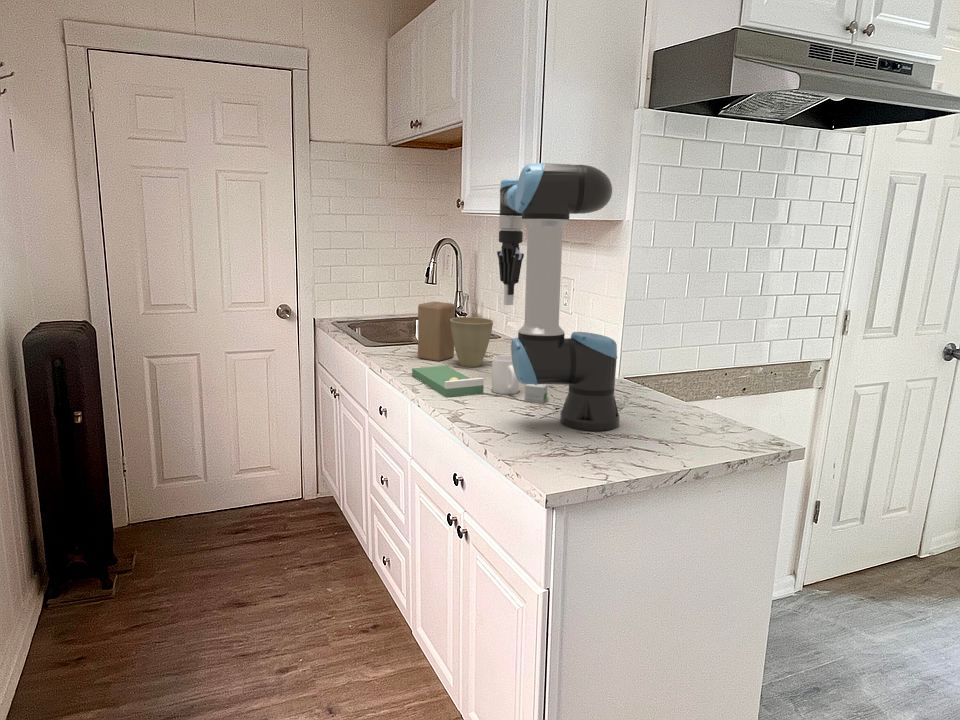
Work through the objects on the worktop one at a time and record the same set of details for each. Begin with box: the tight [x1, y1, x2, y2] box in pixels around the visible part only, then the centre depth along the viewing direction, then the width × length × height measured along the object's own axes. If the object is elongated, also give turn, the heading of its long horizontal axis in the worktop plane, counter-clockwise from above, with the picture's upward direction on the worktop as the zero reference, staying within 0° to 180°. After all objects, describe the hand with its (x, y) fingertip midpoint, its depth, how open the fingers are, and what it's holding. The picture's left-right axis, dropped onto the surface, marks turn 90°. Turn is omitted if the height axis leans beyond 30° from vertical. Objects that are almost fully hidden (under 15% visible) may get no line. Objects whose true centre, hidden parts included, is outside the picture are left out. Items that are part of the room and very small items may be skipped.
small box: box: [523, 384, 549, 404], centre depth 201 cm, size 6×6×5 cm
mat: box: [411, 365, 485, 398], centre depth 216 cm, size 28×12×4 cm, turn 26°
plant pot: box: [450, 316, 494, 368], centre depth 242 cm, size 15×15×16 cm
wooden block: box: [417, 301, 456, 362], centre depth 252 cm, size 10×10×20 cm
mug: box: [491, 354, 520, 396], centre depth 207 cm, size 12×8×10 cm
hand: (508, 304), depth 223 cm, fingers closed
